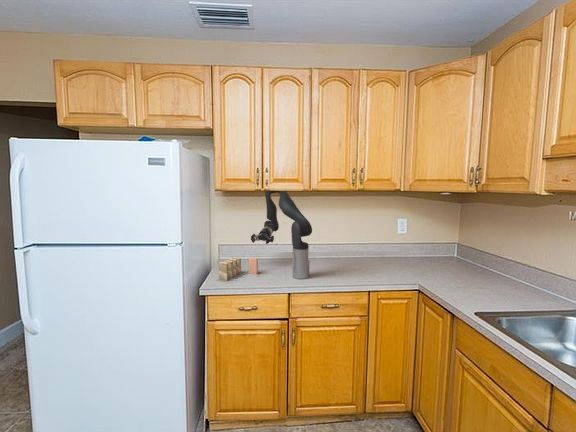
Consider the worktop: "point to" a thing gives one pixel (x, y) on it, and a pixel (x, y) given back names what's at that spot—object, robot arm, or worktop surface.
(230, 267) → the maple domino
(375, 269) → the worktop surface
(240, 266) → the maple domino
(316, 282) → the worktop surface
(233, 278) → the mat
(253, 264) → the terracotta domino
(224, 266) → the maple domino
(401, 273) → the worktop surface
